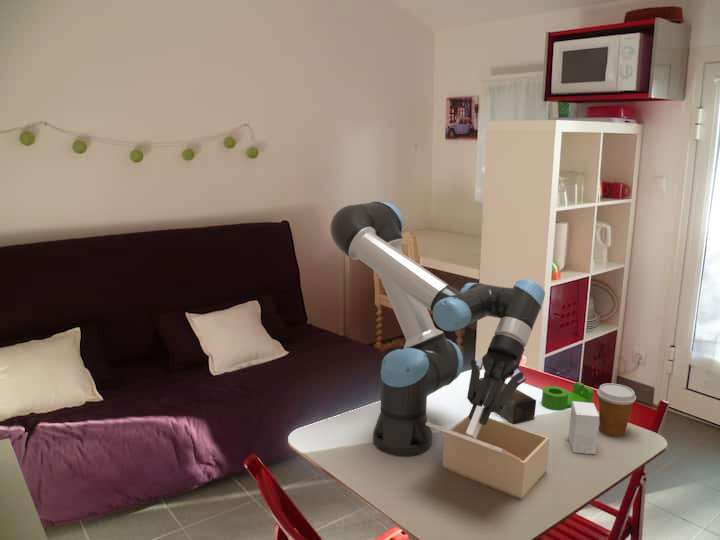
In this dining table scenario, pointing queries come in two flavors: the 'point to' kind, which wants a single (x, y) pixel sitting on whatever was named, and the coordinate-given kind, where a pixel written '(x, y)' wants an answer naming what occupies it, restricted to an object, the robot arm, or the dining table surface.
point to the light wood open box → (498, 457)
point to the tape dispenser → (565, 396)
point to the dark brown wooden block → (516, 406)
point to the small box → (583, 427)
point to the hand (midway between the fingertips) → (470, 436)
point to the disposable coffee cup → (614, 408)
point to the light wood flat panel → (473, 441)
